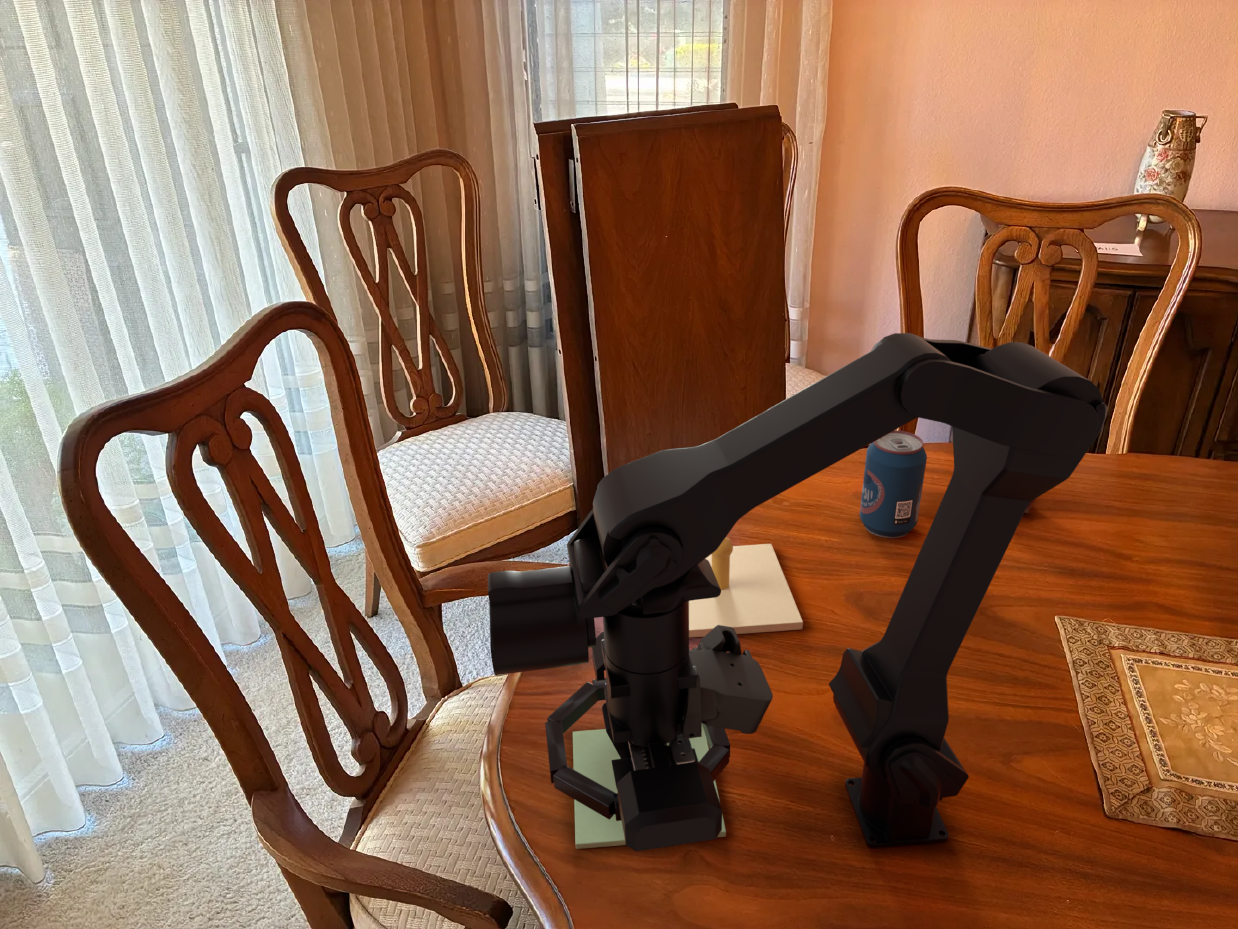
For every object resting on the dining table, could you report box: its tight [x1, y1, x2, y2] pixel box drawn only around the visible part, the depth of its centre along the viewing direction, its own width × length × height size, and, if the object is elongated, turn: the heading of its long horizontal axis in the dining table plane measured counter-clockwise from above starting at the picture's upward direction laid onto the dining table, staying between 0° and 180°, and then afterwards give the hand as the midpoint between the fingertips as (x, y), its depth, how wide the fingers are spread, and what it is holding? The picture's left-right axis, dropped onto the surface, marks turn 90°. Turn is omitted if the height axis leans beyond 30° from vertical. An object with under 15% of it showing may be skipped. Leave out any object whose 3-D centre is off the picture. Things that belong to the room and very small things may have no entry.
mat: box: [572, 726, 727, 850], centre depth 73 cm, size 12×12×1 cm
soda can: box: [859, 429, 928, 539], centre depth 104 cm, size 7×7×12 cm
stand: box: [689, 536, 804, 639], centre depth 95 cm, size 15×15×7 cm
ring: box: [544, 677, 731, 821], centre depth 71 cm, size 15×15×1 cm
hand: (651, 805), depth 65 cm, fingers closed on ring, 1 cm apart
